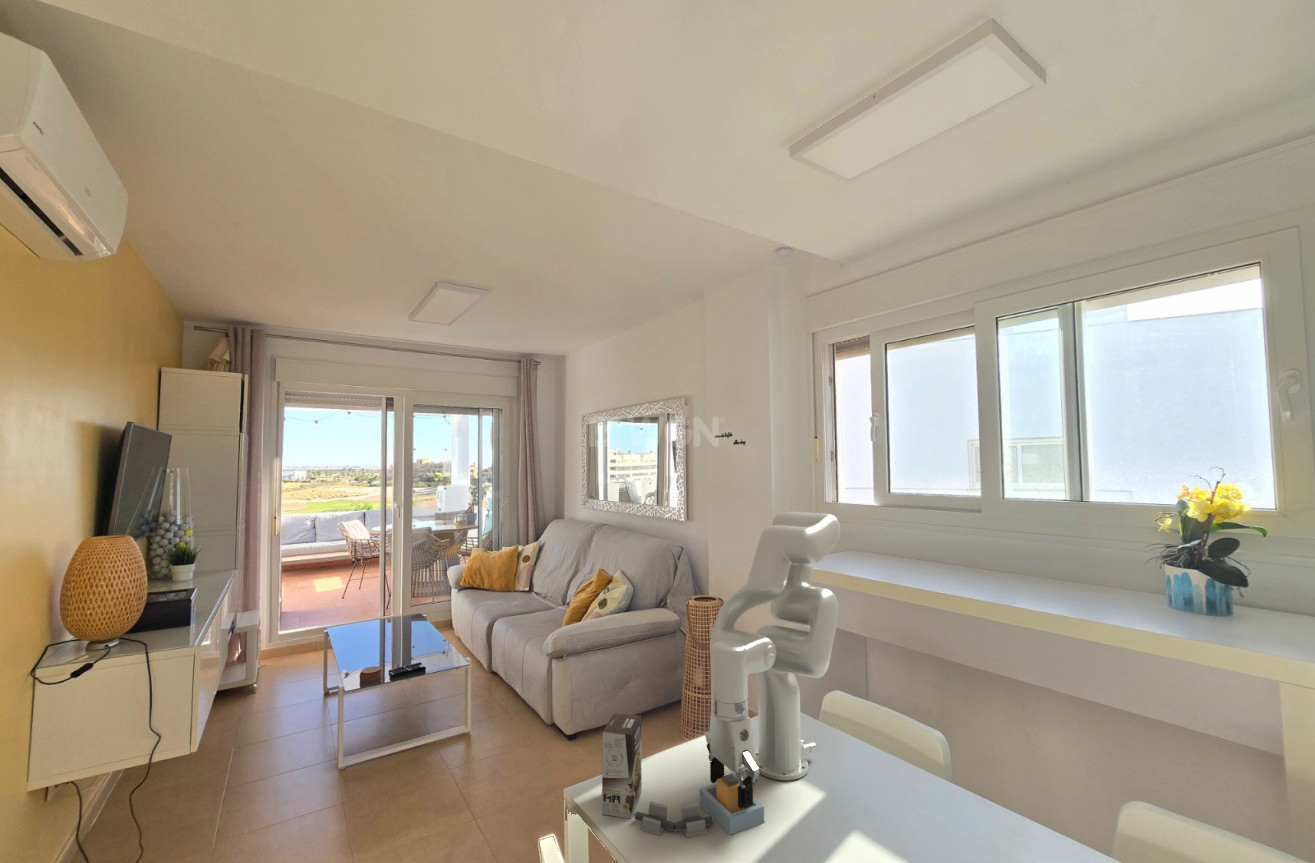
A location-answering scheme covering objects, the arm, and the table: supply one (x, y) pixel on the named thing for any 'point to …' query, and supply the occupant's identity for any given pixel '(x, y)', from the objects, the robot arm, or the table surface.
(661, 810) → the clip
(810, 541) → the robot arm
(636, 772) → the coffee box
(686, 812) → the clip
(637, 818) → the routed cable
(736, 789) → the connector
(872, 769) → the table surface
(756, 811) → the frame
